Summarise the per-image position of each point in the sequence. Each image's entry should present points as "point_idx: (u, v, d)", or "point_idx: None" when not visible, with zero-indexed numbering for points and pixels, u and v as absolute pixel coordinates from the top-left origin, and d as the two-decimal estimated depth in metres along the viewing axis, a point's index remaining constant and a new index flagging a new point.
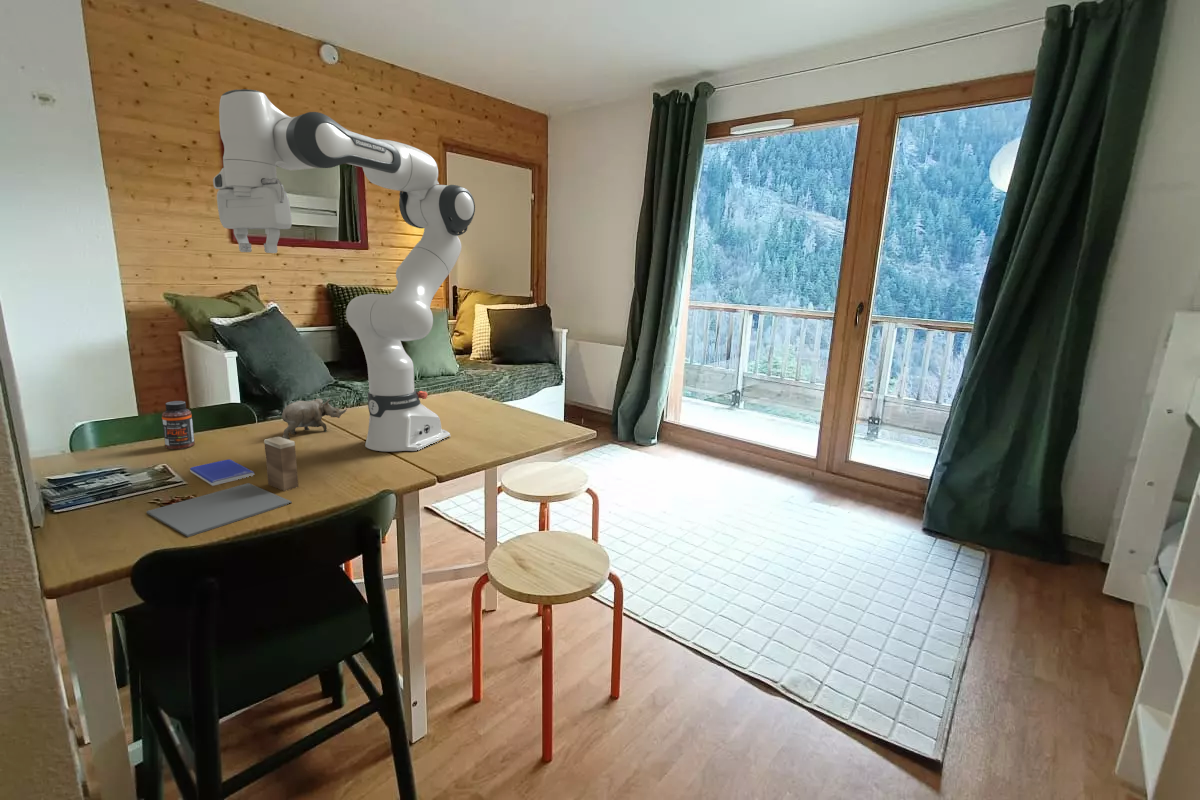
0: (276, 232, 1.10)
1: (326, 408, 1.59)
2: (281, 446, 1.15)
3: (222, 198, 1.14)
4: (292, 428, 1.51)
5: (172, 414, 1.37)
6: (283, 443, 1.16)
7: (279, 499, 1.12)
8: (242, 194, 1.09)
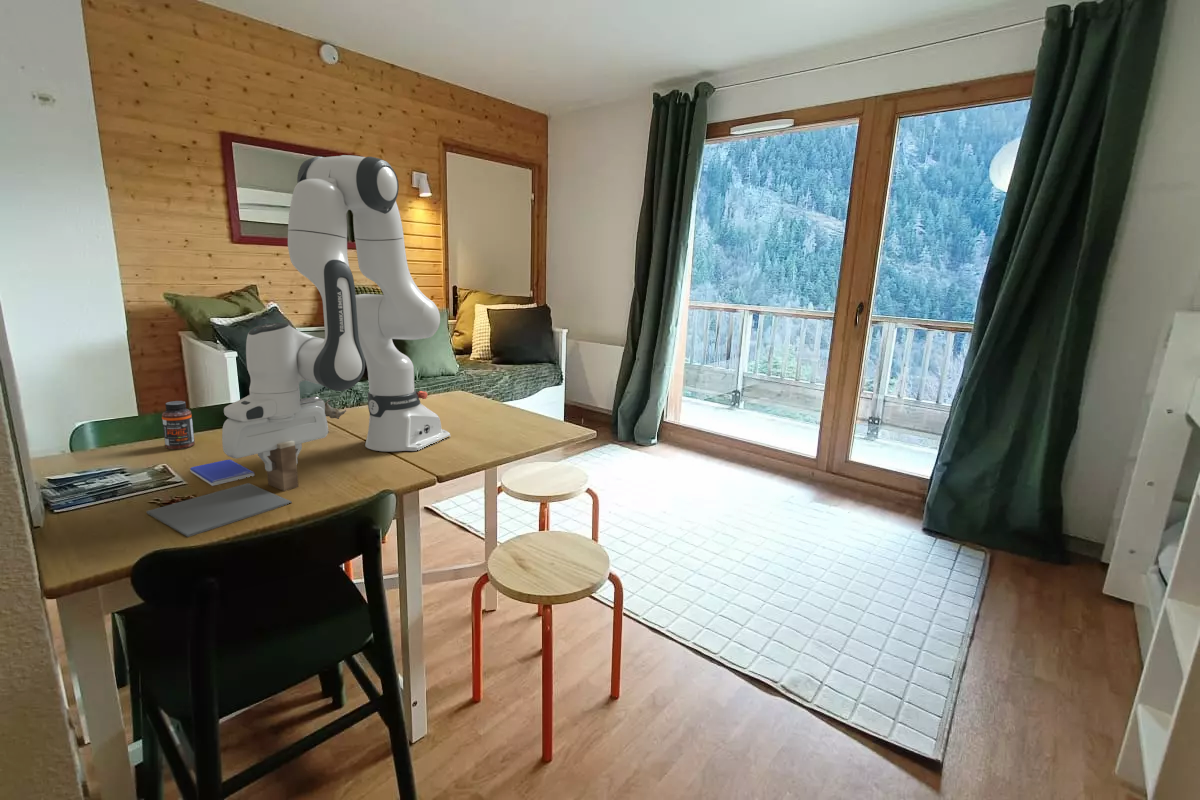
0: None
1: (325, 409, 1.58)
2: (281, 446, 1.15)
3: (244, 429, 1.09)
4: None
5: (172, 414, 1.37)
6: (283, 443, 1.16)
7: (279, 499, 1.12)
8: (292, 419, 1.16)
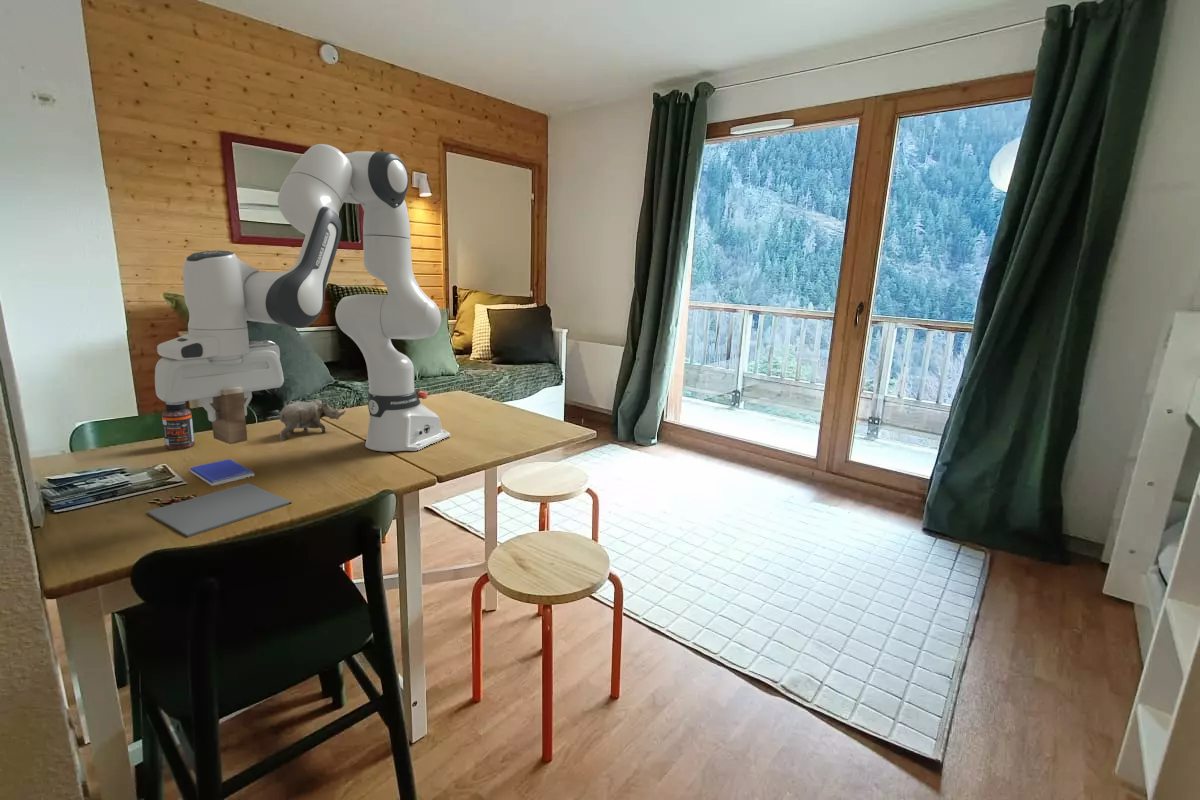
0: None
1: (325, 409, 1.57)
2: (226, 392, 1.01)
3: (180, 369, 0.95)
4: (289, 429, 1.50)
5: (172, 414, 1.37)
6: (228, 389, 1.02)
7: (279, 499, 1.12)
8: (238, 362, 1.02)
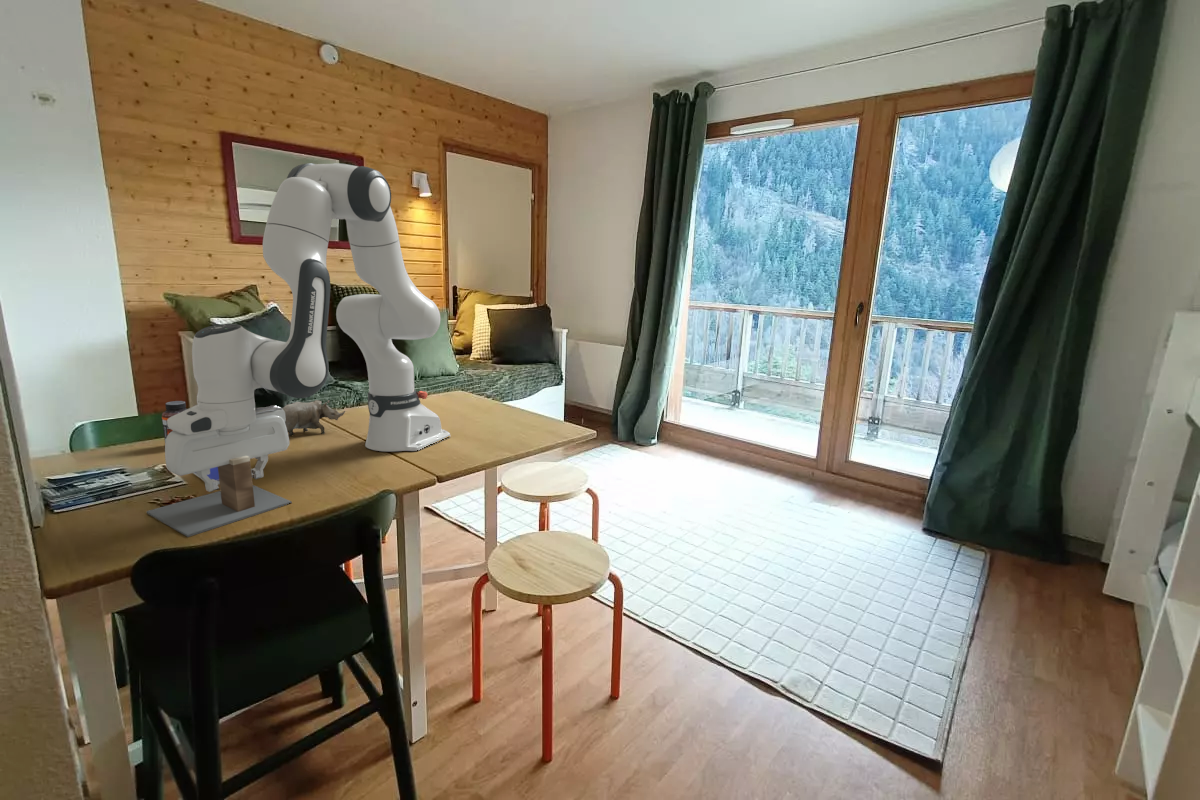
0: None
1: (324, 410, 1.57)
2: (234, 462, 1.04)
3: (189, 443, 0.98)
4: (288, 429, 1.49)
5: (172, 414, 1.37)
6: (236, 459, 1.05)
7: (279, 499, 1.12)
8: (246, 430, 1.05)
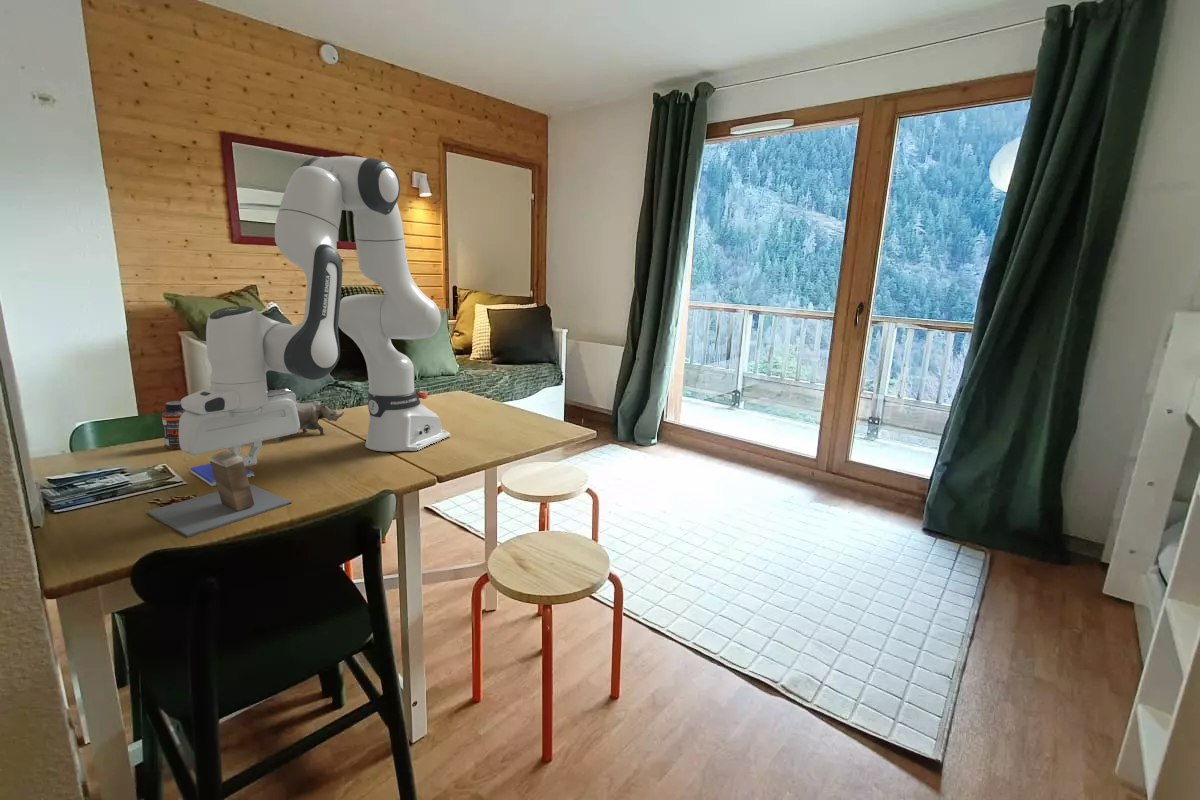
0: None
1: (323, 411, 1.56)
2: (226, 464, 1.03)
3: (203, 422, 0.99)
4: None
5: (172, 414, 1.37)
6: (229, 460, 1.04)
7: (279, 499, 1.12)
8: (258, 412, 1.06)
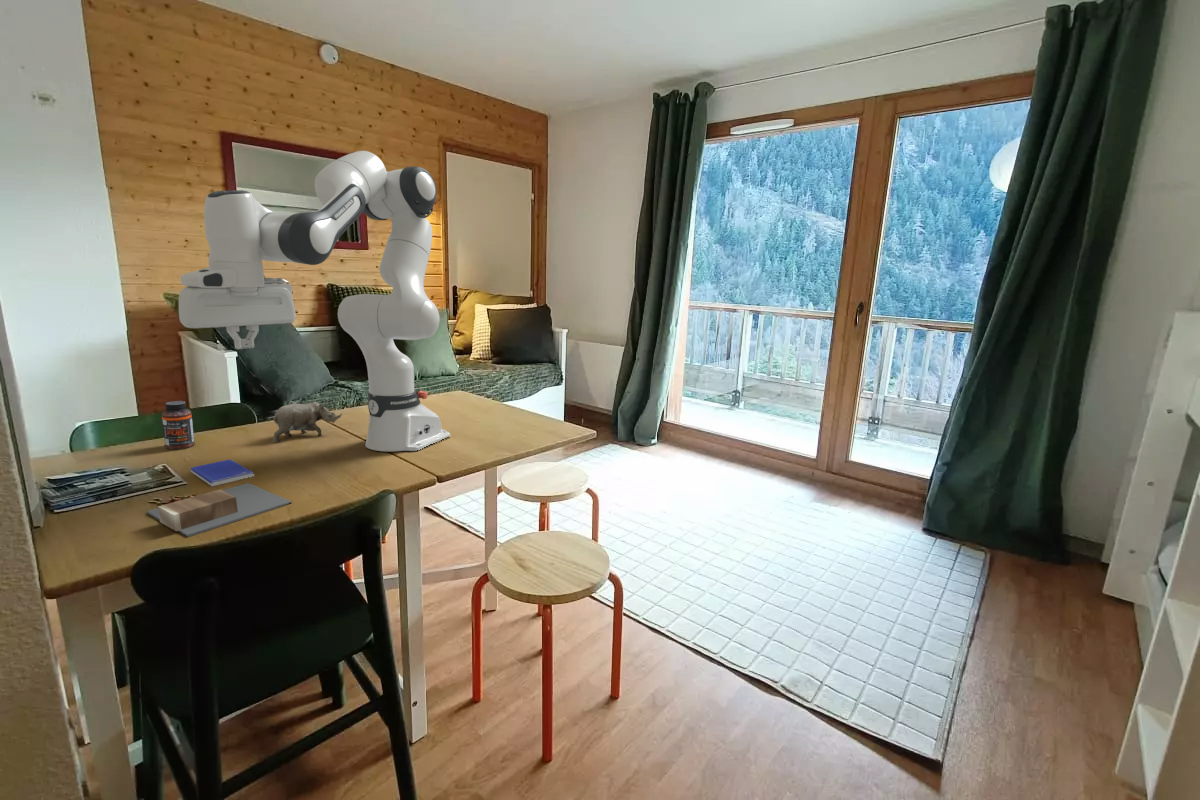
0: None
1: (321, 412, 1.54)
2: (178, 529, 0.98)
3: (202, 297, 1.03)
4: (282, 431, 1.48)
5: (172, 414, 1.37)
6: (173, 525, 0.97)
7: (279, 499, 1.12)
8: (254, 294, 1.10)
